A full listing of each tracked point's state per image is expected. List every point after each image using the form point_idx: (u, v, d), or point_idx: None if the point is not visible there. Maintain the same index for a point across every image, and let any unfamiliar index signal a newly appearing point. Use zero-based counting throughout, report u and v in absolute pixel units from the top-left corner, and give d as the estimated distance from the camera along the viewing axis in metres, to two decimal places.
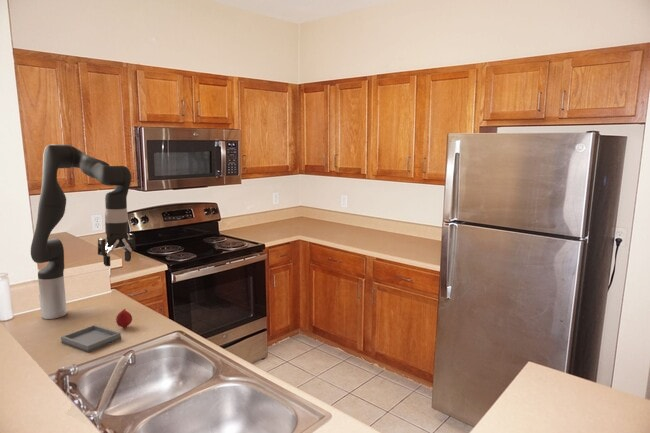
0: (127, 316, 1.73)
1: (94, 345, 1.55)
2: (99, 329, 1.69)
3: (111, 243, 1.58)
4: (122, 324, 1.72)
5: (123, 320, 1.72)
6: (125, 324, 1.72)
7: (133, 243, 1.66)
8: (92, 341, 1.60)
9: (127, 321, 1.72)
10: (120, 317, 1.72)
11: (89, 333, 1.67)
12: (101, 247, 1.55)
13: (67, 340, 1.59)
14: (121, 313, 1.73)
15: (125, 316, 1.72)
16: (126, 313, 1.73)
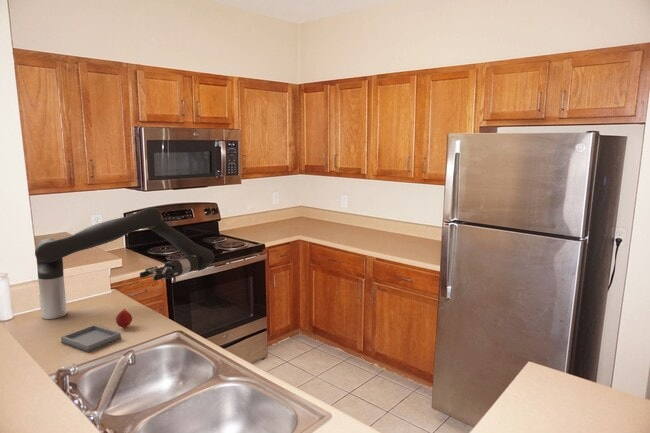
0: (127, 316, 1.73)
1: (94, 345, 1.55)
2: (99, 329, 1.69)
3: None
4: (122, 324, 1.72)
5: (123, 320, 1.72)
6: (125, 324, 1.72)
7: (150, 273, 1.91)
8: (92, 341, 1.60)
9: (127, 321, 1.72)
10: (120, 317, 1.72)
11: (89, 333, 1.67)
12: (172, 276, 1.85)
13: (67, 340, 1.59)
14: (121, 313, 1.73)
15: (125, 316, 1.72)
16: (126, 313, 1.73)
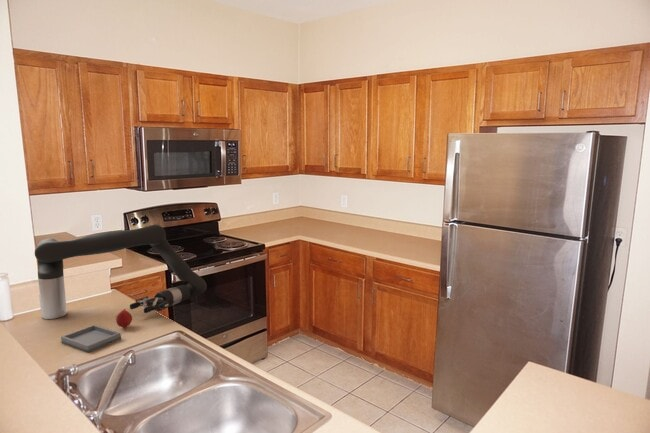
0: (127, 316, 1.73)
1: (94, 345, 1.55)
2: (99, 329, 1.69)
3: None
4: (122, 324, 1.72)
5: (123, 320, 1.72)
6: (125, 324, 1.72)
7: None
8: (92, 341, 1.60)
9: (127, 321, 1.72)
10: (120, 317, 1.72)
11: (89, 333, 1.67)
12: (163, 308, 1.83)
13: (67, 340, 1.59)
14: (121, 313, 1.73)
15: (125, 316, 1.72)
16: (126, 313, 1.73)
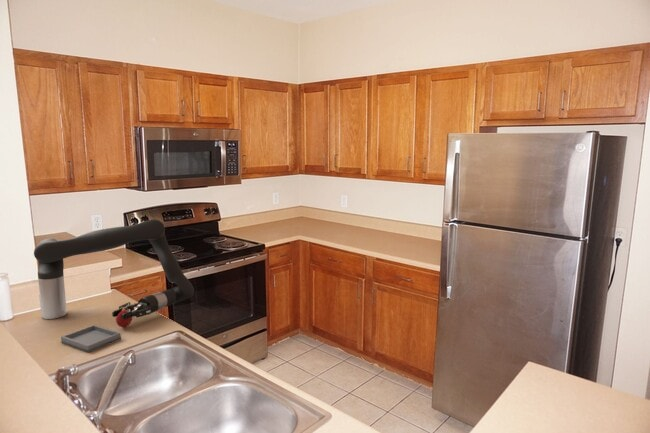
0: None
1: (94, 345, 1.55)
2: (99, 329, 1.69)
3: (141, 312, 1.78)
4: (122, 324, 1.72)
5: (123, 320, 1.72)
6: (125, 324, 1.72)
7: None
8: (92, 341, 1.60)
9: (127, 320, 1.72)
10: (120, 317, 1.72)
11: (89, 333, 1.67)
12: (144, 314, 1.75)
13: (67, 340, 1.59)
14: (121, 313, 1.73)
15: None
16: None
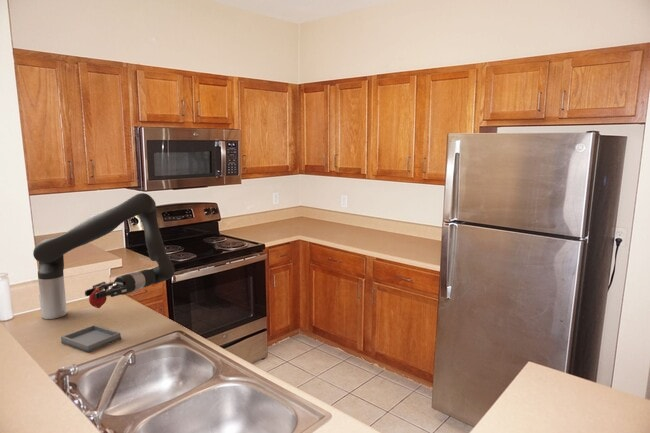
0: None
1: (94, 345, 1.55)
2: (99, 329, 1.69)
3: (116, 292, 1.67)
4: (95, 304, 1.61)
5: (96, 299, 1.61)
6: (99, 304, 1.62)
7: None
8: (92, 341, 1.60)
9: (101, 300, 1.62)
10: (93, 296, 1.61)
11: (89, 333, 1.67)
12: (119, 293, 1.64)
13: (67, 340, 1.59)
14: (94, 291, 1.62)
15: None
16: None
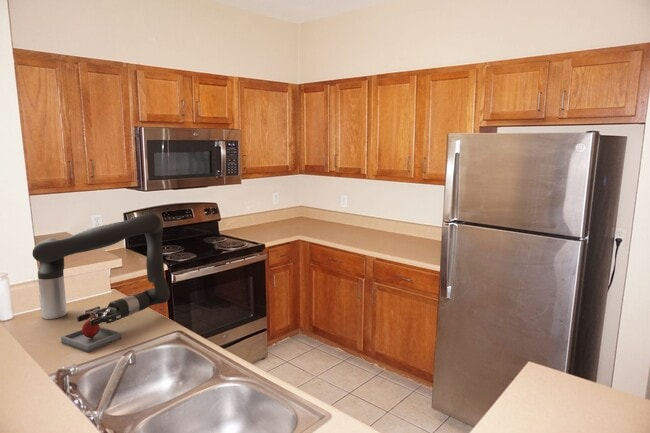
0: (94, 326, 1.61)
1: (94, 345, 1.55)
2: None
3: (110, 317, 1.65)
4: (88, 334, 1.60)
5: (89, 330, 1.59)
6: (91, 334, 1.60)
7: None
8: (92, 341, 1.60)
9: (93, 331, 1.60)
10: (86, 327, 1.59)
11: None
12: (114, 320, 1.63)
13: (67, 340, 1.59)
14: (87, 322, 1.60)
15: (91, 326, 1.60)
16: None
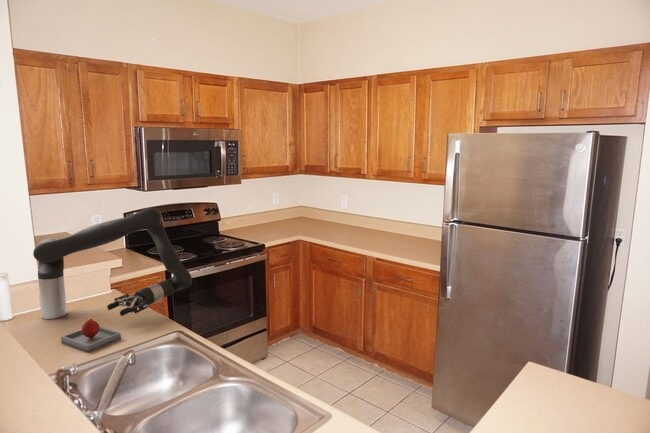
0: (94, 325, 1.61)
1: (94, 345, 1.55)
2: None
3: None
4: (88, 334, 1.60)
5: (89, 330, 1.59)
6: (91, 334, 1.60)
7: None
8: (92, 341, 1.60)
9: (93, 330, 1.60)
10: (86, 327, 1.60)
11: None
12: (141, 309, 1.74)
13: (67, 340, 1.59)
14: (87, 322, 1.60)
15: (91, 326, 1.60)
16: (93, 322, 1.61)
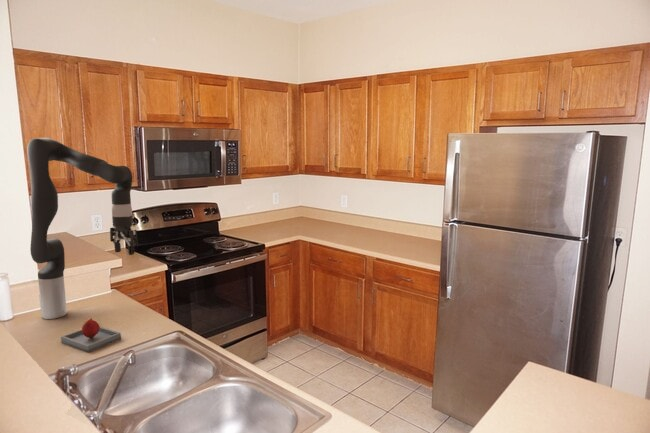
0: (94, 325, 1.61)
1: (94, 345, 1.55)
2: None
3: None
4: (88, 334, 1.60)
5: (89, 330, 1.59)
6: (91, 334, 1.60)
7: None
8: (92, 341, 1.60)
9: (93, 330, 1.60)
10: (86, 327, 1.60)
11: None
12: (136, 237, 1.78)
13: (67, 340, 1.59)
14: (87, 322, 1.60)
15: (91, 326, 1.60)
16: (93, 322, 1.61)
